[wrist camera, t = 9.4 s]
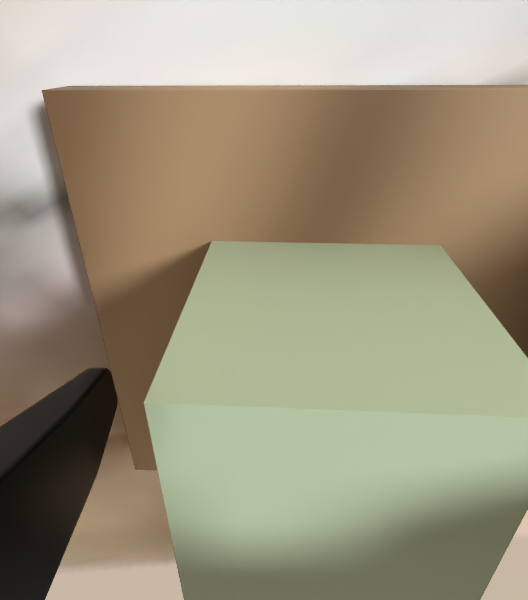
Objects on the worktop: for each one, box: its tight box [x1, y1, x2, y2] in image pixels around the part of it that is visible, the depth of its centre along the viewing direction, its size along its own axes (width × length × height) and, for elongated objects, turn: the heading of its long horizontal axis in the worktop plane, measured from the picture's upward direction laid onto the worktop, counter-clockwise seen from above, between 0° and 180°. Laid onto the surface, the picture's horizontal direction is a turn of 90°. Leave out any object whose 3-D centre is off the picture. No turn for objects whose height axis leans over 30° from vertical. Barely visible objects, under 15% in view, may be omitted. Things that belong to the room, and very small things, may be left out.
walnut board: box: [42, 85, 528, 470], centre depth 11 cm, size 11×11×1 cm
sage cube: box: [144, 241, 528, 600], centre depth 8 cm, size 5×5×5 cm
